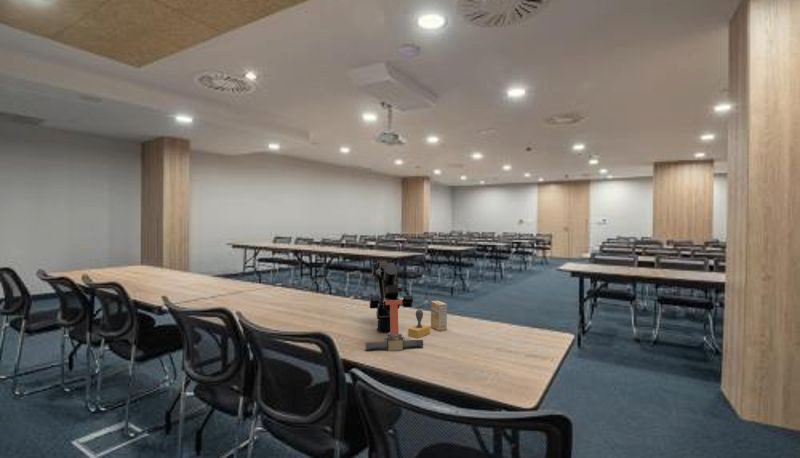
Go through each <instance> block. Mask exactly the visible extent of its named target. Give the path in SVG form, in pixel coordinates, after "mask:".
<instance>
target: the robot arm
mask: <svg viewBox="0 0 800 458" xmlns="http://www.w3.org/2000/svg"><path fill="white" fill-rule="evenodd" d="M371 270H372V272H371V273H372V275H371V276H372V277H373V280H374V282H376V284H377V286H378V287H377V288H378V294H379V295H378V296H376V295H375V296H373V295H372V296H371V297H369V309H376V314H375V315H376V319H377V327H376V331H379V332H381V333H389V332H390V305H385V300H402V304H398V310H400V307H401V305H402V307H404V308H411V307H412V306H413V303H414V296H413V295H411V294H410V295H409V294H407V295H405V294H404V295H403V297H402V298H398V297H399V293H402V292H403V284H402V283H397V284H396V280H397V275H398V273H399V269H398V266H396V265H394V263H392V262H388V260H386V259H378V260H376V263H375V264H374V265H372V269H371ZM390 333H391V332H390Z"/></svg>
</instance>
